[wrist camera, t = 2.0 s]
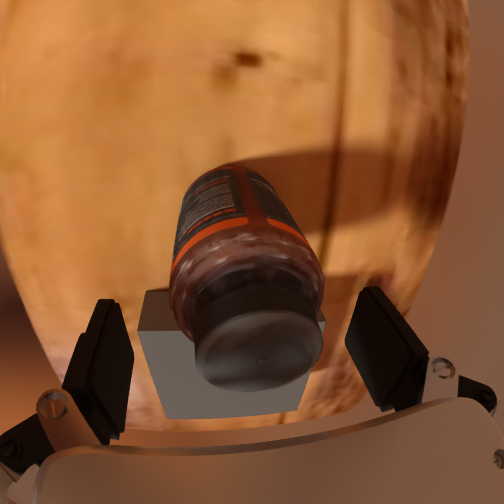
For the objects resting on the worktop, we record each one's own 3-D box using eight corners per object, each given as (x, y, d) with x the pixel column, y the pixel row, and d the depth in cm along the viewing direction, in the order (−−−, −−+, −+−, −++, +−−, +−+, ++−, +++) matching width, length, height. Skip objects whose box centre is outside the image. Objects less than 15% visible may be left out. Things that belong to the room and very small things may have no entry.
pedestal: (145, 291, 20) (137, 331, 17) (308, 285, 22) (326, 321, 18) (168, 384, 26) (167, 418, 23) (288, 377, 28) (296, 410, 25)
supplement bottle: (164, 226, 18) (131, 382, 8) (213, 144, 16) (224, 238, 6) (243, 266, 20) (276, 417, 11) (296, 195, 18) (388, 323, 8)
